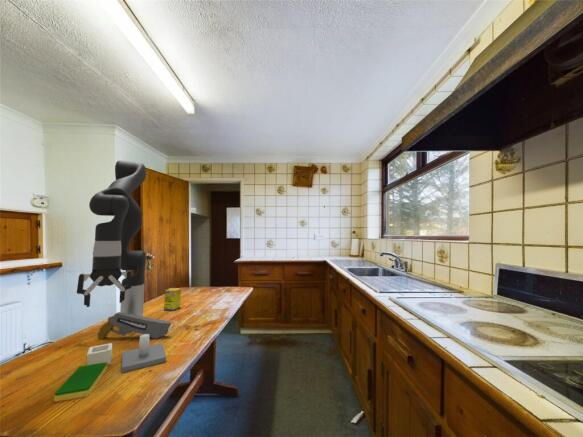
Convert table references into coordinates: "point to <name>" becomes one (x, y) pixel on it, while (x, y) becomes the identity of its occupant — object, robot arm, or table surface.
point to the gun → (134, 325)
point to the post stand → (143, 355)
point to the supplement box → (172, 299)
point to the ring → (100, 354)
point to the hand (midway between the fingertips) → (104, 304)
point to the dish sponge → (81, 382)
